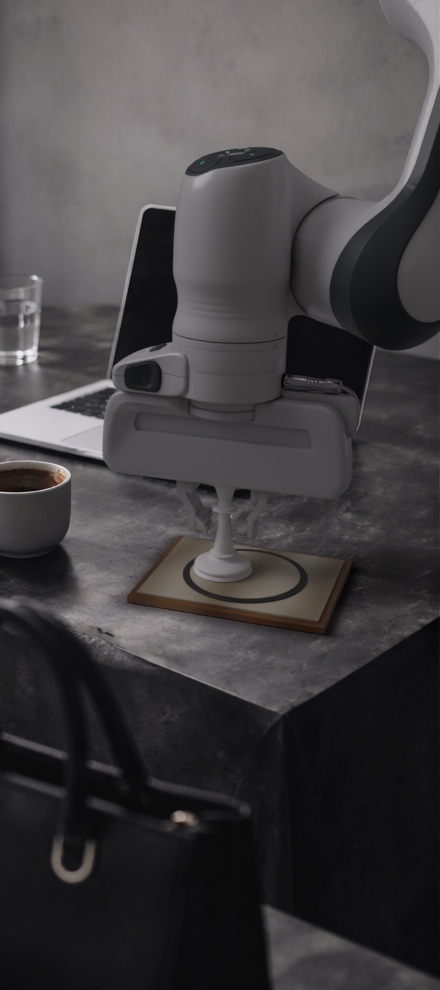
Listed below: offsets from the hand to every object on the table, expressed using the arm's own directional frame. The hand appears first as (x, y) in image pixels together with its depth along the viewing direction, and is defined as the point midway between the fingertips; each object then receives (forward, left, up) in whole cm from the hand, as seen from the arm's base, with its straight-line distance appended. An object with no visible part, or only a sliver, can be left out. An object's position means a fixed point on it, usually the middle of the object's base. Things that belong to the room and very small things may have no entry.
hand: (223, 533), depth 81 cm
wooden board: (-2, 0, -4) cm, 5 cm away
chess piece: (0, 0, -4) cm, 4 cm away
